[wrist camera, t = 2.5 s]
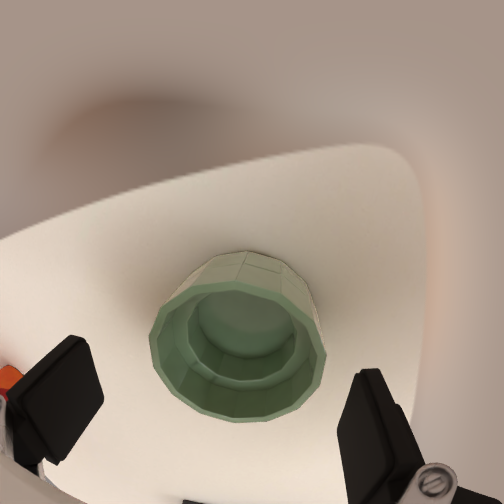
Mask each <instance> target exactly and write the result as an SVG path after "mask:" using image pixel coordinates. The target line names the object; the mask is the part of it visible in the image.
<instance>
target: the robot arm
mask: <svg viewBox="0 0 504 504" xmlns="http://www.w3.org/2000/svg"><path fill="white" fill-rule="evenodd" d="M5 394H6V396H7V398H8V400H7V401H5V399H4V397H3V396H2V395H0V504H87V503H85V502H83V501H81V500H79V499H77V498H75V497H73V496H71V495H69V494H67V493H65V492H63V491H61V490H59V489H58V488H56V487H54V486H52V485H51V484H49V483H47V482H46V480H45V474H44V469H43V463H42V460H43V458H44V457H45V458H46V460H47V461H49V462H51V463H53V464H55V465H56V466H57V465H58V464H59V462H60V461H63V460H64V459H65V458H66V457H67V455H68V454H69V452H70V451H71V449H72V448H73V446H74V445H75V443H76V442H77V440H78V439H79V437H80V436H81V434H82V433H83V432H84V430H85V429H86V427H87V426H88V424H89V423H90V421H91V420H92V419H93V417H94V416H95V414H96V413H97V411H98V410H99V408H100V407H101V406H102V404H103V402H104V394H103V391H102V388H101V385H100V382H99V379H98V376H97V372H96V369H95V365H94V362H93V358H92V355H91V351H90V347H89V344H88V343H87V342H86V340H85V339H84V338H82V337H78V336H75V335H69V336H68V337H66V338H65V339H64V340H63V341H62V342H61V343H60V344H58V345H57V346H56V347H55V348H54V349H53V350H52V351H50V352H49V353H48V354H47V355H46V356H45V357H44V358H43V359H41V360H40V361H39V362H38V363H37V364H36V365H35V366H34V367H33V368H32V369H30V370H29V371H28V372H27V373H26V374H25V375H24V376H23V377H22V378H21V379H20V380H19V381H17V382H16V383H15V384H14V385H13V386H12V387H11V388H10V389H9V390H8V391H7V392H6V393H5ZM337 437H338V443H339V448H340V454H341V460H342V466H343V472H344V478H345V484H346V491H347V497H348V504H502V503H501V502H500V501H499V500H497V499H495V498H491V497H488V496H485V495H482V494H479V493H476V492H473V491H470V490H468V489H465V488H462V487H459V486H457V483H458V481H457V476H456V474H455V472H454V471H453V470H452V469H451V468H450V467H449V466H447V465H445V464H442V463H429V464H425V462H424V459H423V457H422V454H421V452H420V450H419V447H418V444H417V442H416V440H415V437H414V435H413V433H412V431H411V428H410V426H409V424H408V421H407V419H406V417H405V414H404V412H403V410H402V408H401V407H400V405H398V404H395V402H394V400H393V397H392V395H391V393H390V391H389V389H388V386H387V384H386V382H385V380H384V378H383V376H382V374H381V371H380V370H379V369H378V368H373V369H362V370H361V371H360V373H356V374H355V376H354V379H353V382H352V385H351V388H350V392H349V395H348V398H347V401H346V404H345V407H344V410H343V413H342V415H341V418H340V421H339V424H338V427H337Z"/></svg>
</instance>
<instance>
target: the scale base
mask: <svg viewBox="0 0 504 504" xmlns="http://www.w3.org/2000/svg"><path fill="white" fill-rule="evenodd" d="M182 504H201V503H196V502H191V501H186V500H183V503H182Z"/></svg>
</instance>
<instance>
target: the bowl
mask: <svg viewBox="0 0 504 504" xmlns="http://www.w3.org/2000/svg"><path fill="white" fill-rule="evenodd" d="M149 343H150V349H151V356H152V362H153V367H154V369H155V370H156V372H157V373H158V375H159V376H160V378H161V379H162V381H163V382H164V384H165V385H166V387H167V388H168V389H169V391H170V392H171V394H173V395H174V396H175V397H177V398H178V399H179V400H181V401H182V402H184V403H185V404H187V405H188V406H190V407H191V408H193V409H194V410H196V411H197V412H199V413H201V414H204V415H207V416H210V417H214V418H217V419H221V420H224V421H228V422H232V423H247V422H267V421H270V420H273V419H275V418H278V417H280V416H283V415H285V414H287V413H290V412H292V411H294V410H297V409H298V408H299V407H300V406H301V405H302V404H303V403H304V402H305V401H306V400H307V399H308V398H309V397H310V396H311V395H312V394H313V393H314V391H315V390H316V389H317V388H318V387H319V385H320V383H321V378H322V374H323V370H324V365H325V361H326V356H327V355H326V349H325V344H324V340H323V336H322V331H321V327H320V323H319V319H318V315H317V310H316V307H315V305H314V302H313V299H312V297H311V294H310V291H309V289H308V286H307V284H306V282H305V281H304V280H303V279H302V278H301V277H299V276H298V275H297V274H296V273H295V272H294V271H293V270H292V269H290V268H289V267H288V266H287V265H286V264H285V263H284V262H282V261H280V260H277V259H274V258H271V257H267V256H264V255H260V254H257V253H254V252H248V251H244V252H238V253H231V254H225V255H218V256H216V257H213V258H212V259H210V260H209V261H208V262H206V263H205V264H203V265H202V266H201V267H199V268H198V269H196V270H195V271H194V272H192V273H191V274H190V275H189V276H188V277H187V279H186V280H185V281H184V282H183V283H182V284H181V285H180V286H179V287H178V288H177V290H176V291H175V292H174V293H173V294H172V295H171V296H170V297H169V299H168V300H167V301H166V302H165V303H164V304H163V305H162V307H161V308H160V310H159V312H158V315H157V317H156V320H155V322H154V324H153V327H152V329H151V332H150V334H149Z"/></svg>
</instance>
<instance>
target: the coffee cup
mask: <svg viewBox="0 0 504 504" xmlns="http://www.w3.org/2000/svg"><path fill="white" fill-rule="evenodd" d="M22 377H23V375H22V374H21V373H20V372H19V371H18V370H17V369H15V368H14V367H12V366H9V365H7V366H5V367H3V368H2V369H0V395H2V396H3V397H4V399H5V401H7V400H8V398H7V396H6V394H5V393H6V392H7V391H8V390H9V389H10V388H11V387H12V386H13V385H14V384H15V383H16V382H17V381H19V380H20V379H21V378H22Z"/></svg>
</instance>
